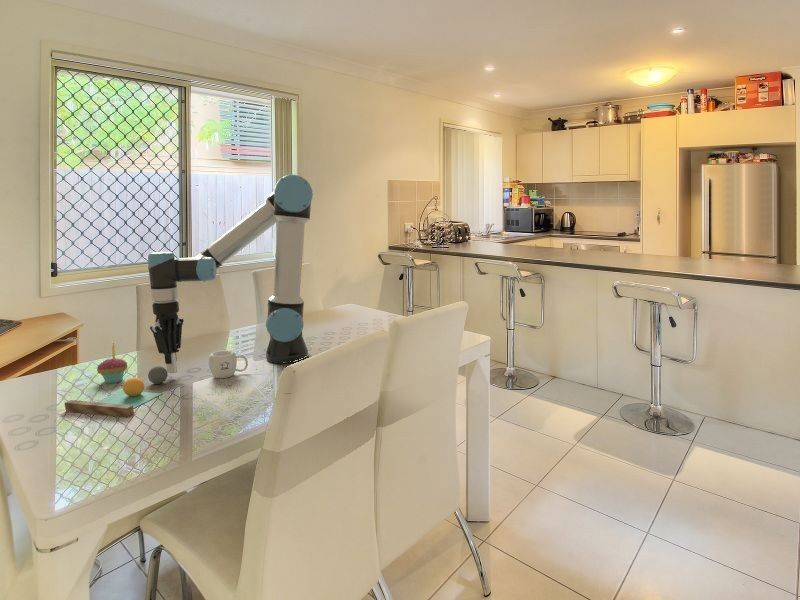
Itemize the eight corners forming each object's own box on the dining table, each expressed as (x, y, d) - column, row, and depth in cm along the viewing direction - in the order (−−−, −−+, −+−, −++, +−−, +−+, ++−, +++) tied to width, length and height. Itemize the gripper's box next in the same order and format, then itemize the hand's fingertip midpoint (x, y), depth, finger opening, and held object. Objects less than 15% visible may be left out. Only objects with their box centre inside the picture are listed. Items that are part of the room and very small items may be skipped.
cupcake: (107, 376, 159) (103, 341, 157) (134, 375, 160) (130, 340, 158) (93, 385, 151) (88, 348, 149) (121, 384, 151) (117, 347, 149)
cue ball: (157, 366, 148) (157, 384, 148) (171, 365, 153) (171, 383, 153) (144, 366, 150) (143, 384, 150) (158, 365, 155) (157, 382, 155)
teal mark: (162, 394, 143) (162, 393, 143) (125, 412, 129) (125, 412, 129) (122, 390, 146) (122, 390, 146) (82, 408, 132) (82, 408, 132)
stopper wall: (133, 414, 128) (132, 405, 128) (128, 417, 126) (127, 408, 126) (72, 408, 132) (71, 399, 132) (65, 411, 131) (64, 402, 130)
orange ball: (144, 374, 141) (132, 387, 137) (151, 388, 144) (139, 401, 139) (128, 373, 142) (115, 385, 138) (135, 387, 145) (123, 399, 141)
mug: (210, 381, 153) (208, 358, 152) (210, 373, 161) (208, 351, 159) (249, 376, 157) (248, 353, 156) (247, 369, 165) (246, 347, 164)
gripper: (169, 297, 160) (175, 365, 164) (139, 304, 147) (147, 378, 151) (188, 297, 158) (194, 366, 162) (161, 305, 146) (168, 379, 150)
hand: (172, 372), depth 157 cm, fingers closed
